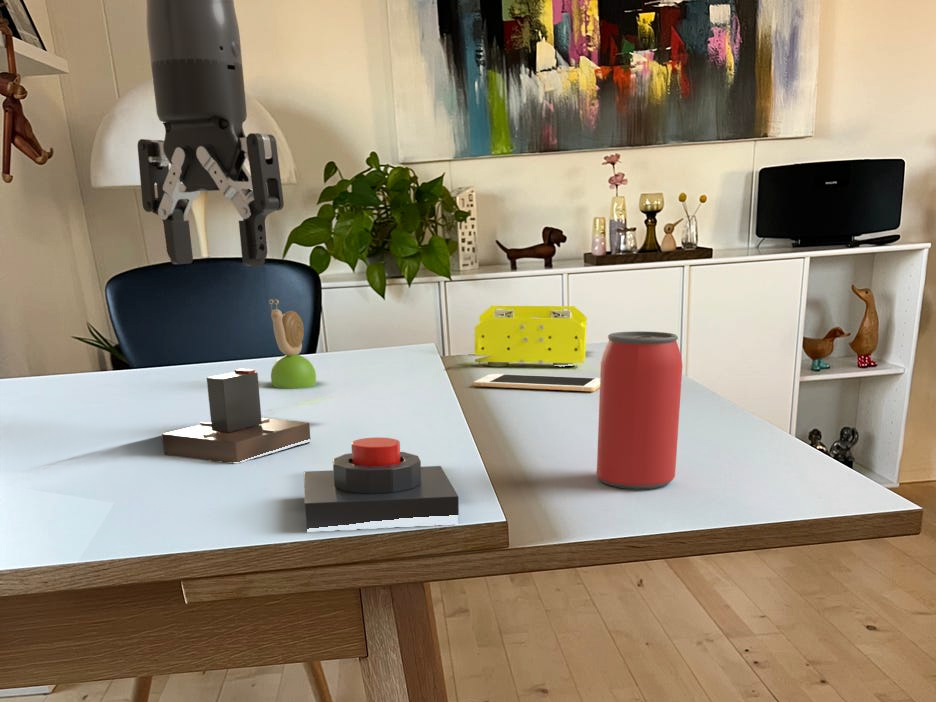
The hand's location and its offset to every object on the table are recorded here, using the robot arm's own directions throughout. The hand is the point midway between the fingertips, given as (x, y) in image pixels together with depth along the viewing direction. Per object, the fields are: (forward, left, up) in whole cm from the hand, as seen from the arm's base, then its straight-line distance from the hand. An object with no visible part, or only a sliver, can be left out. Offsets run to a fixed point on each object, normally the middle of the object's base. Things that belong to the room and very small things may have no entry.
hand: (217, 264), depth 94 cm
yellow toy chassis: (+67, +1, -17) cm, 69 cm away
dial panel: (+1, +1, -17) cm, 17 cm away
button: (-12, -24, -13) cm, 30 cm away
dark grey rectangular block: (+1, +1, -15) cm, 15 cm away
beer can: (+6, -38, -17) cm, 43 cm away
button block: (-12, -24, -17) cm, 32 cm away
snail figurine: (+26, +14, -17) cm, 34 cm away
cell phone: (+50, -8, -17) cm, 54 cm away
